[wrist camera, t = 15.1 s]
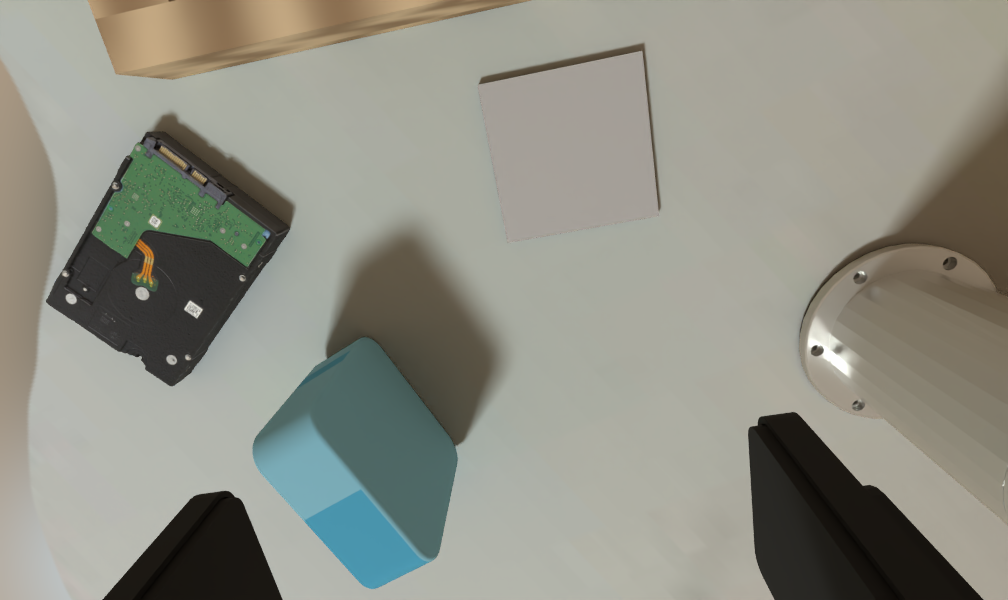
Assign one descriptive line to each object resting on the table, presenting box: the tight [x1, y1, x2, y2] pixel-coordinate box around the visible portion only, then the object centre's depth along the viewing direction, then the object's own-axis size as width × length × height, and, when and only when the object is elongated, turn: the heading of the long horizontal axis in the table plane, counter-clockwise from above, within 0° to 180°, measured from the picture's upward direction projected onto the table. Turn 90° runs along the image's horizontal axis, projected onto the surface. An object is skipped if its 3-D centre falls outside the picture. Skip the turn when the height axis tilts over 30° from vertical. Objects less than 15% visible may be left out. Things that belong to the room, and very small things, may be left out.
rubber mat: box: [478, 51, 659, 243], centre depth 35 cm, size 10×10×1 cm
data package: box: [253, 337, 458, 589], centre depth 36 cm, size 12×4×12 cm, turn 33°
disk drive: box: [46, 132, 290, 386], centre depth 38 cm, size 10×3×15 cm
